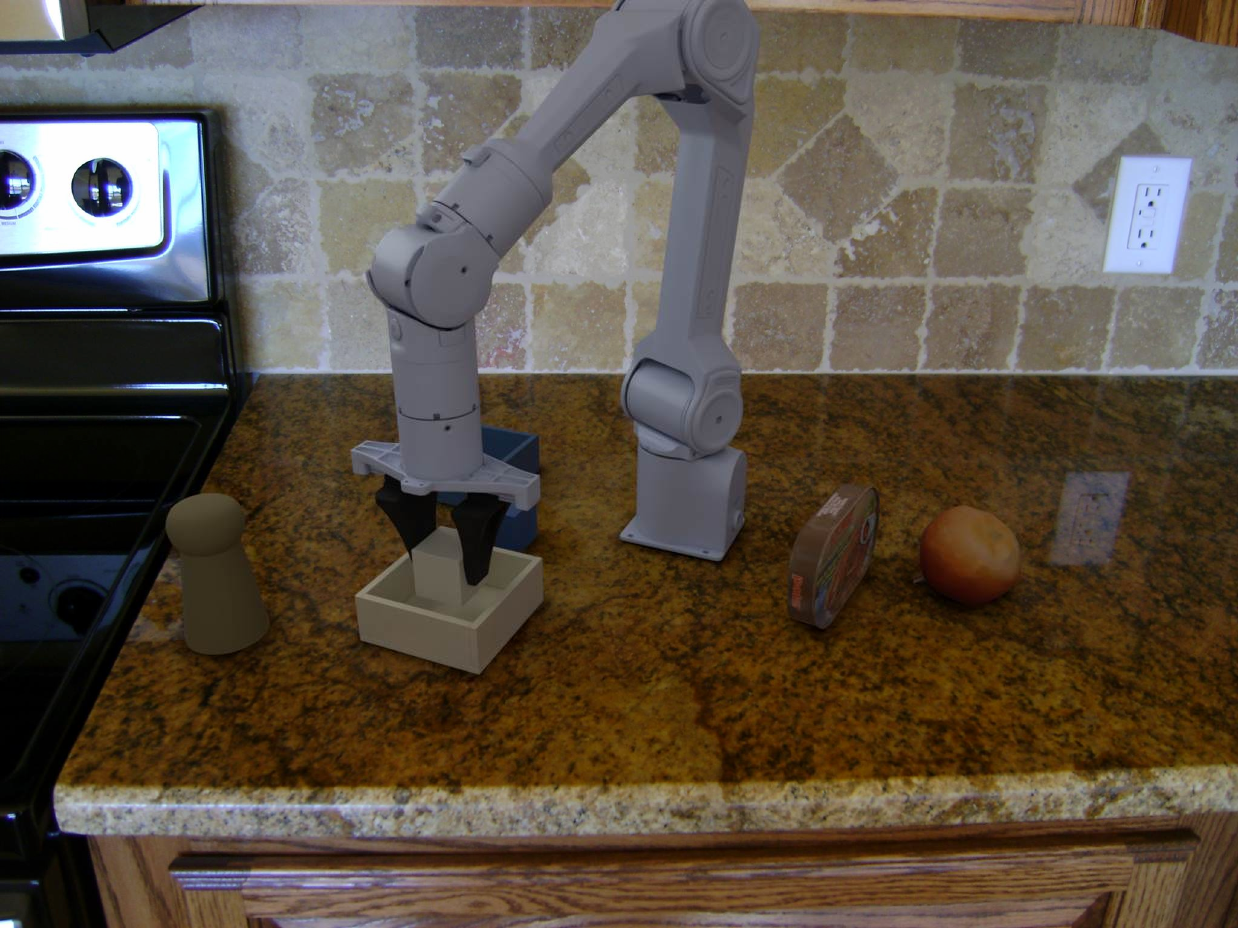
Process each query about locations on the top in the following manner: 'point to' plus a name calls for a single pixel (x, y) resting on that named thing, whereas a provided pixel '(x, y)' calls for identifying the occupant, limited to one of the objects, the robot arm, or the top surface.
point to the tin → (832, 554)
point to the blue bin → (503, 454)
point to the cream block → (442, 569)
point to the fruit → (969, 556)
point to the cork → (216, 575)
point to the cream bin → (451, 612)
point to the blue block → (517, 529)
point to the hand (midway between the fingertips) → (451, 572)
